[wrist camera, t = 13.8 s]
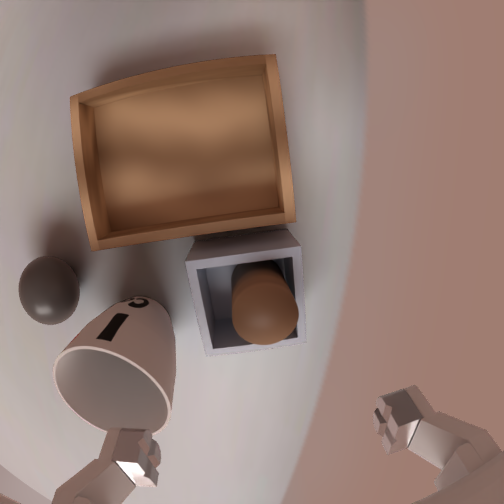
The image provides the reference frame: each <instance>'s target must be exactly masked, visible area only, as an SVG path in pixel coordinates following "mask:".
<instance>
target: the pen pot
mask: <svg viewBox="0 0 504 504" xmlns="http://www.w3.org/2000/svg"><path fill="white" fill-rule="evenodd" d="M271 259H272V260H273V261H274V262H275V263H276V264H277V265H278V266H279V268H280V269H281V272H282V274H283V276H284V278H285V280H286V282H287V284H288V286H289V288H290V291H291V293H292V295H293V297H294V299H295V301H296V303H297V306H298V310H299V318H298V322H297V325H296V327H295V329H294V330H293V331H292V333H291V334H290V335H289V336H287V337H286V338H285V339H283V340H282V341H280V342H277V343H274V344H270V345H257V344H253V343H250V342H248V341H246V340H244V339H243V338H242V337H240V335H239V334H238V333H237V332H236V330H235V328H234V326H233V321H232V290H231V277H232V273H233V271H234V269H235V267H236V266H237V264H242V263H249V262H257V261H264V260H271ZM185 264H186V269H187V274H188V279H189V284H190V289H191V293H192V298H193V303H194V307H195V312H196V316H197V320H198V325H199V329H200V333H201V337H202V342H203V346H204V350H205V354H206V356H217V355H226V354H235V353H243V352H251V351H258V350H266V349H273V348H279V347H286V346H292V345H298V344H304V343H307V341H306V317H305V297H304V280H303V265H302V251H301V245H300V244H299V243H298V242H297V240H296V239H295V238H294V237H293V235H292V234H291V233H290V232H289V231H288V229H282V230H274V231H266V232H259V233H251V234H243V235H236V236H229V237H221V238H214V239H207V240H199V241H194V244H193V246H192V248H191V250H190V252H189V254H188V256H187V258H186V261H185Z"/></svg>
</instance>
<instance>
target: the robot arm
mask: <svg viewBox="0 0 504 504" xmlns="http://www.w3.org/2000/svg"><path fill="white" fill-rule="evenodd" d="M376 405H377V407H378V408H377V409H376V410H375V411H374V415H373V422H374V426H375V429H376V432H377V434H380V435H381V436H383V439H382V444H383V446H384V448H385V450H386V452H387V454H388V455H389V454H392V453H395V452H398V451H400V450H403V449H406V448H408V449H409V450H411V451H412V452H414V453H415V454H417V455H419V456H420V457H422V458H423V459H425V460H427V461H428V462H430V463H432V464H433V465H435V466H437V467H438V468H440V469H442V471H441V472H440V474H439V475H438V476H437V478H436V479H435V481H434V483H435V485H436V487H437V489H438V492H435V493H433V494H431V495H429V496H427V497H425V498H423V499H421V500H419V501H416V502H414V503H412V504H504V451H503V452H502V451H501V449H500V448H499V446H498V445H497V444H496V442H495V441H494V440H493V438H492V437H491V435H490V434H489V433H488V431H487V430H485V429H482V428H480V427H477V426H475V425H472V424H469V423H467V422H464V421H462V420H459V419H457V418H454V417H452V416H449V415H447V414H444V413H442V412H435V411H434V409H433V408H432V406H431V405H430V403H429V402H428V401H427V399H426V398H425V396H424V395H423V394H422V392H421V391H420V390H419V388H418V387H417V386H416V385H413V386H410V387H408V388H405V389H401V390H398V391H395V392H392V393H389V394H386V395H383V396H380V397H378V399H377V402H376ZM160 461H161V451H160V447H159V445H158V443H157V442H156V441H155V440H153V439H152V433H151V432H150V430H149V429H133V428H120V427H110V428H109V429H108V432H107V434H106V437H105V440H104V443H103V446H102V449H101V452H100V455H99V458H98V459H94V460H93V461H92V462H91V463H89V464H88V465H87V466H86V467H84V468H83V469H82V470H81V471H79V472H78V473H77V474H76V475H74V476H73V477H72V478H70V479H69V480H68V481H67V482H65V483H64V484H63V485H61V486H60V487H59V488H57V489H56V492H55V495H54V498H53V501H52V504H121V503H122V502H123V501H124V500H125V499H126V498H127V497H128V495H129V494H130V493H131V492H132V491H133V490H134V488H135V487H136V486H149V487H157V481H158V475H159V473H158V471H157V470H156V467H157V466H158V465H159V464H160ZM0 504H21V503H19V502H17V501H15V500H13V499H11V498H9V497H7V496H5V495H3V494H1V493H0Z"/></svg>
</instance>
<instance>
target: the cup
mask: <svg viewBox="0 0 504 504" xmlns="http://www.w3.org/2000/svg"><path fill="white" fill-rule="evenodd" d="M175 376H176V346H175V335H174V331H173V327H172V323H171V319H170V316H169V314H168V313H167V311H166V310H165V308H164V307H163V306H162V305H161V304H159V303H158V302H156V301H155V300H153V299H150V298H147V297H141V296H137V297H132V298H129V299H127V300H124V301H121V302H119V303H116V304H114V305H112V306H111V307H110V308H108V309H107V310H105V311H104V312H103V313H101V314H100V315H99V316H97V317H96V318H95V319H93V320H92V321H91V322H89V323H88V324H87V325H86V326H85V327H84V328H83V329H82V330H81V331H80V333H79V334H78V335H77V336H76V337H75V338H74V339H73V340H72V341H71V342H70V343H69V345H68V346H67V347H66V348H65V349H64V350H63V351H62V352H61V353H60V355H59V356H58V357H57V358H56V360H55V363H54V366H53V378H54V383H55V386H56V388H57V390H58V392H59V394H60V396H61V397H62V399H63V400H64V402H65V403H66V404H67V405H68V407H69V408H70V409H71V410H72V411H73V412H74V413H75V414H76V415H78V416H79V417H80V418H81V419H83V420H84V421H85V422H87V423H88V424H90V425H92V426H94V427H95V428H97V429H99V430H102V431H104V432H106V433H107V432H108V429H109V428H110V427H120V428H133V429H149V430H150V432H151V433H152V436H153V435H155V434H157V433H159V432H161V431H162V430H163V429H164V428H165V427H166V426H167V425H168V423H169V421H170V417H171V410H172V401H173V392H174V384H175Z"/></svg>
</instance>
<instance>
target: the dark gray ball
mask: <svg viewBox="0 0 504 504" xmlns="http://www.w3.org/2000/svg"><path fill="white" fill-rule="evenodd" d="M79 296H80V288H79V283H78V279H77V277H76V275H75V273H74V271H73V270H72V268H71V267H70V266H69V265H68V264H67V263H65V262H64V261H63V260H61V259H59V258H56V257H51V256H44V257H40V258H37V259H35V260H33V261H32V262H31V263H29V264H28V265H27V267H26V268H25V269H24V271H23V273H22V275H21V278H20V281H19V297H20V301H21V303H22V306H23V308H24V309H25V311H26V312H27V313H28V315H29V316H30V317H31V318H33V319H34V320H36V321H38V322H40V323H42V324H47V325H54V324H58V323H61V322H63V321H65V320H67V319H68V318H69V317H70V316H71V315H72V314H73V312H74V311H75V309H76V307H77V305H78V301H79Z"/></svg>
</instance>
